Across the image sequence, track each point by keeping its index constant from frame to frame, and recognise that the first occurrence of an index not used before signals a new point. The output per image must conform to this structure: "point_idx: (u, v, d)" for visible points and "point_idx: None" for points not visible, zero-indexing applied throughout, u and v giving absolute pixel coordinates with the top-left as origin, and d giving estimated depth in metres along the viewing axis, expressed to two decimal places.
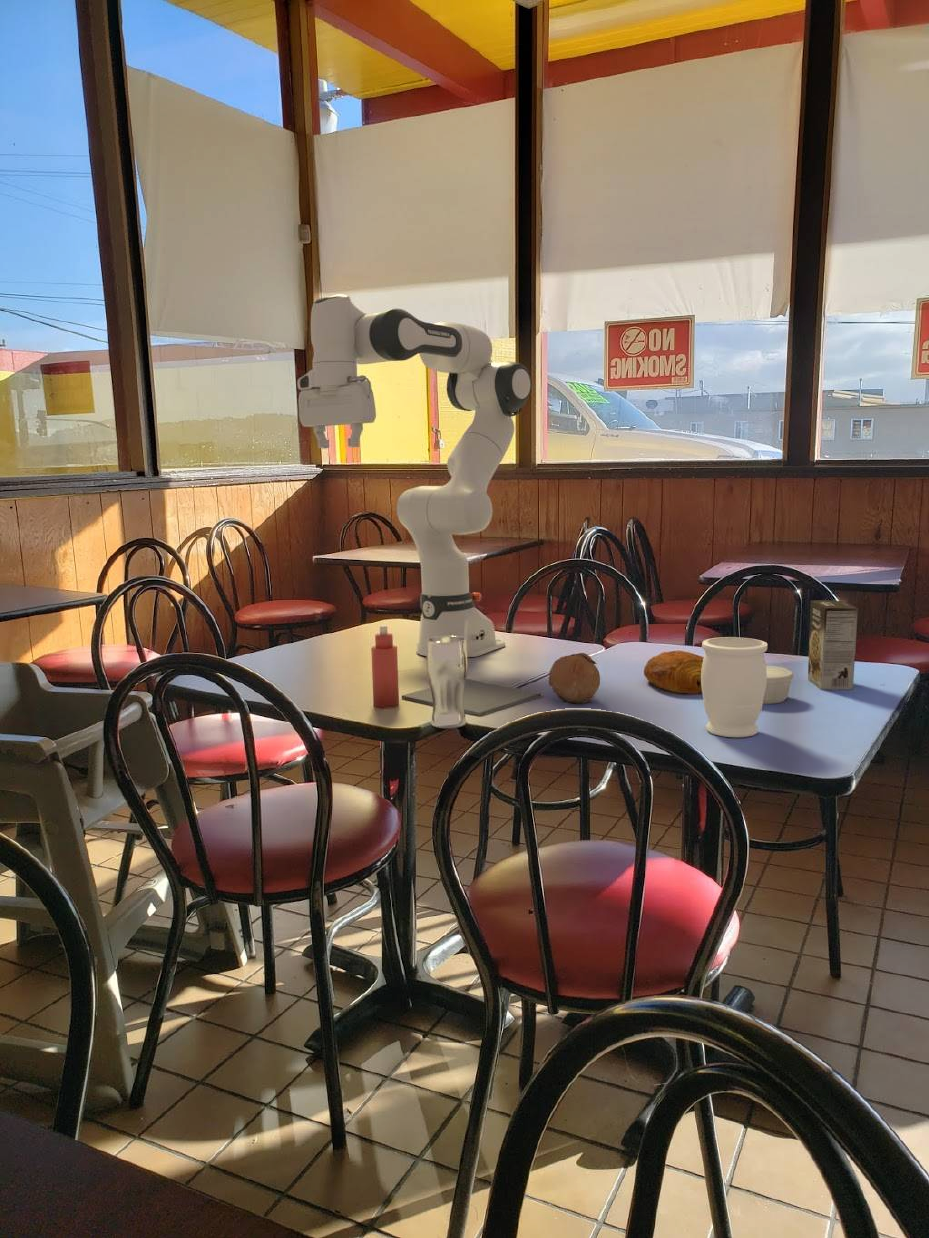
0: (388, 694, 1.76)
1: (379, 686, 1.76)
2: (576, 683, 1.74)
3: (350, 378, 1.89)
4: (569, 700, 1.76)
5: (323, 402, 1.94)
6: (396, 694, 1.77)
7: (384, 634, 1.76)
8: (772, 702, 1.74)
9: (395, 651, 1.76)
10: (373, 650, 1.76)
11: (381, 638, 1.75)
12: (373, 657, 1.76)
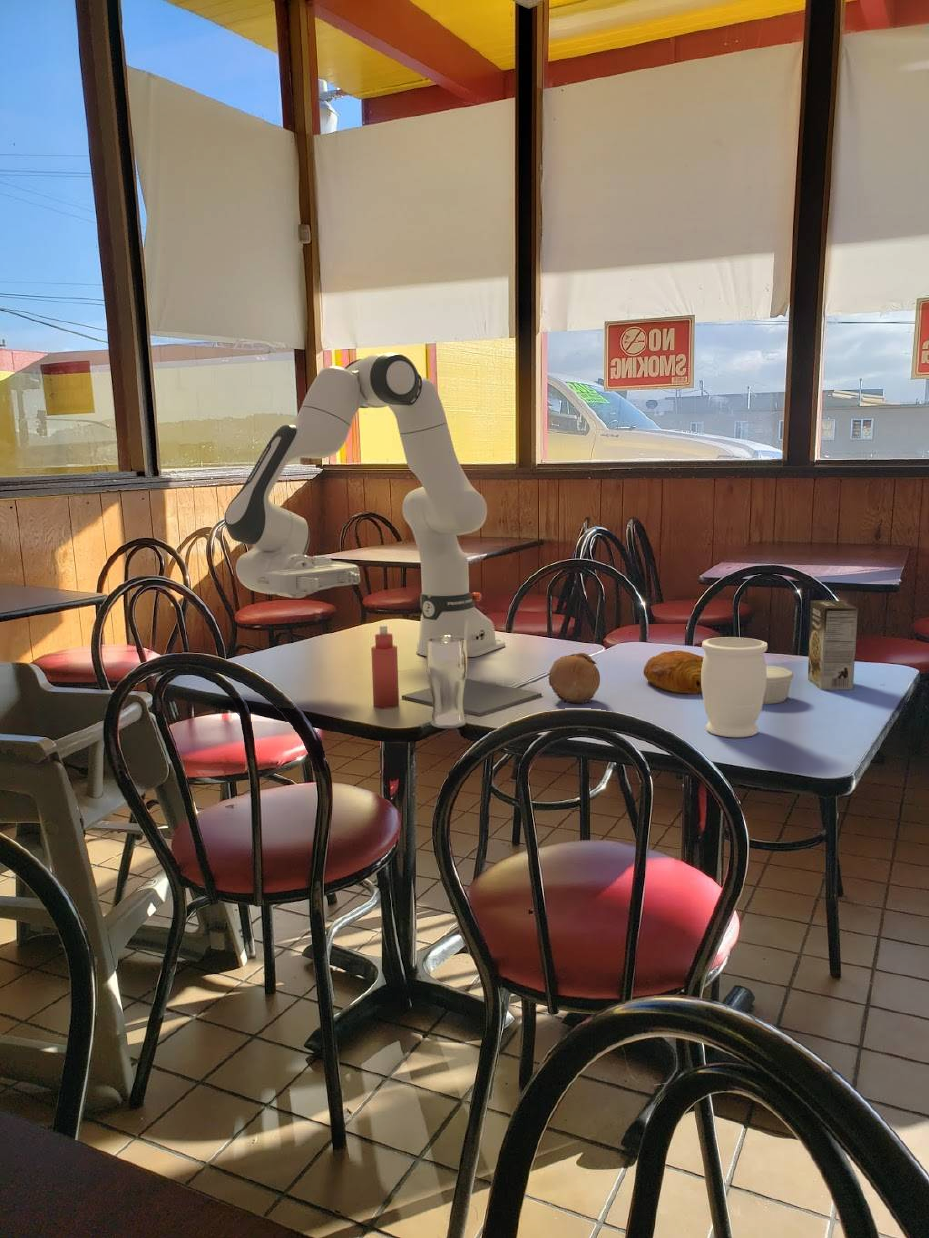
0: (388, 694, 1.76)
1: (379, 686, 1.76)
2: (576, 683, 1.74)
3: None
4: (569, 700, 1.76)
5: None
6: (396, 694, 1.77)
7: (384, 634, 1.76)
8: (772, 702, 1.74)
9: (395, 651, 1.76)
10: (373, 650, 1.76)
11: (381, 638, 1.75)
12: (373, 657, 1.76)
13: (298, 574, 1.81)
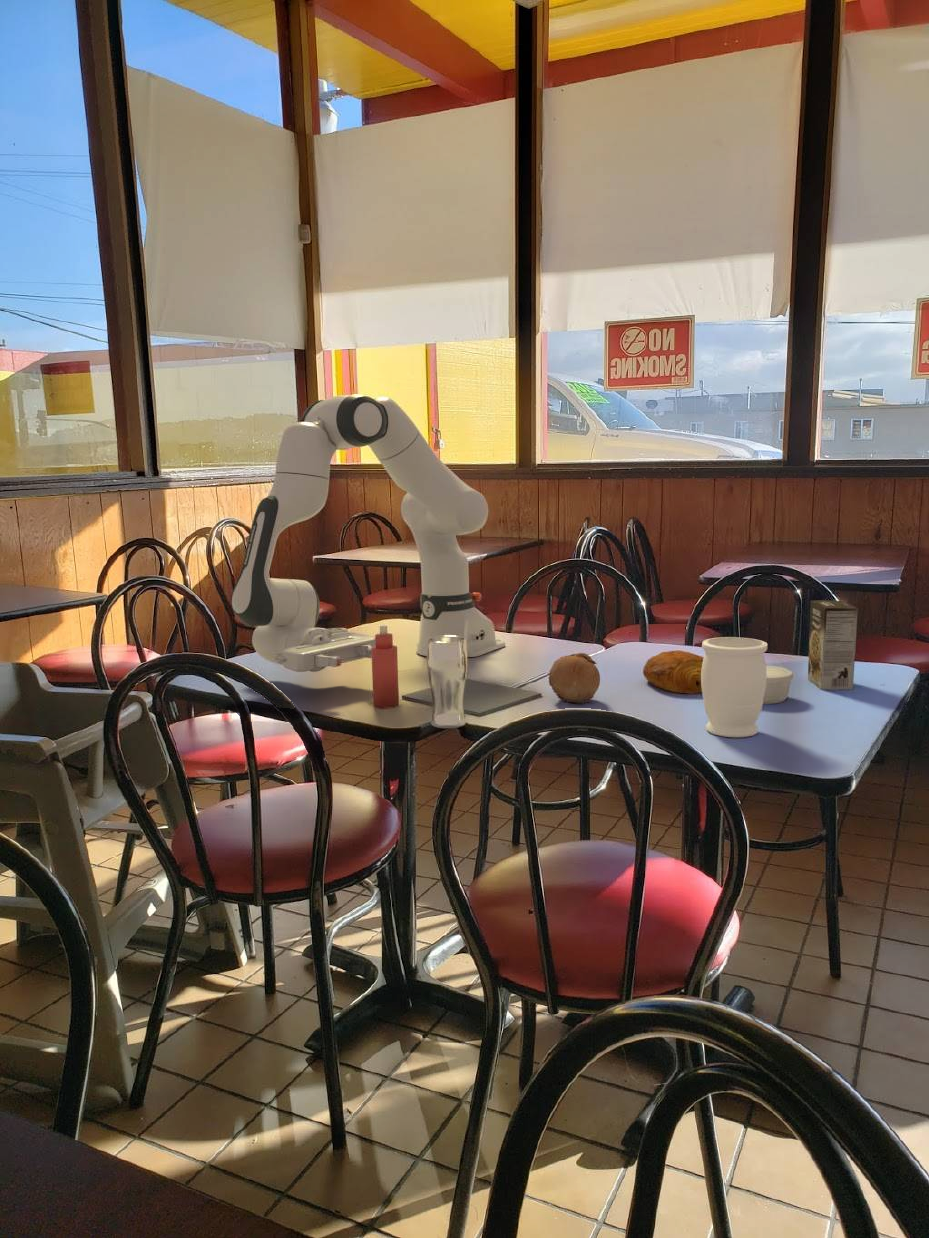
0: (388, 694, 1.76)
1: (379, 686, 1.76)
2: (576, 683, 1.74)
3: None
4: (569, 700, 1.76)
5: None
6: (396, 694, 1.77)
7: (384, 634, 1.76)
8: (772, 702, 1.74)
9: (395, 651, 1.76)
10: (373, 650, 1.76)
11: (381, 638, 1.75)
12: (373, 657, 1.76)
13: (316, 652, 1.81)
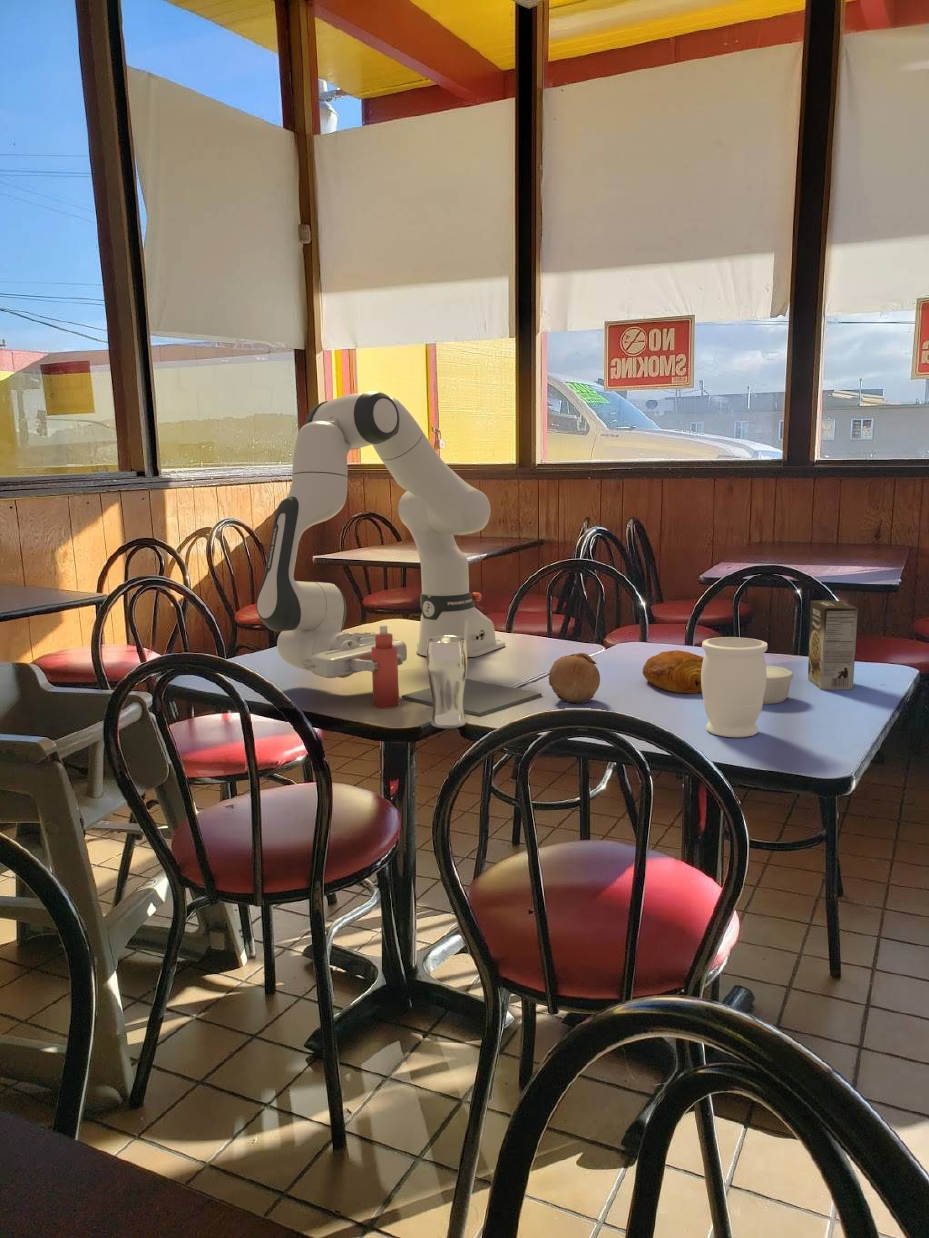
0: (388, 694, 1.76)
1: (379, 686, 1.76)
2: (576, 683, 1.74)
3: None
4: (569, 700, 1.76)
5: None
6: (396, 694, 1.77)
7: (384, 634, 1.76)
8: (772, 702, 1.74)
9: (395, 651, 1.76)
10: (373, 650, 1.76)
11: (381, 638, 1.75)
12: (373, 657, 1.76)
13: (346, 658, 1.75)
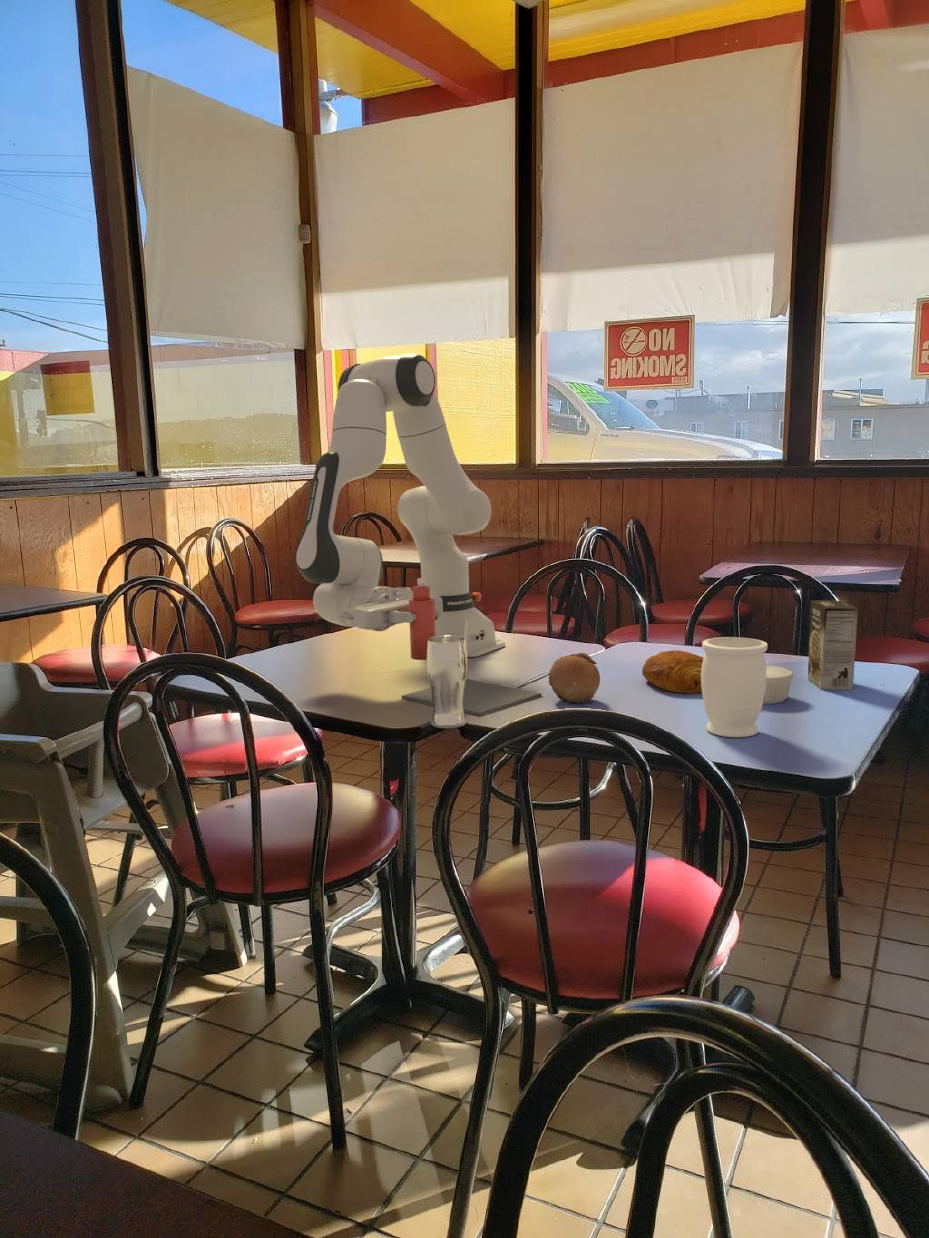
0: (425, 646, 1.77)
1: (417, 638, 1.77)
2: (576, 683, 1.74)
3: None
4: (569, 700, 1.76)
5: None
6: None
7: (422, 586, 1.77)
8: (772, 702, 1.74)
9: (433, 603, 1.77)
10: (411, 602, 1.77)
11: (419, 590, 1.76)
12: (411, 609, 1.77)
13: (384, 609, 1.77)
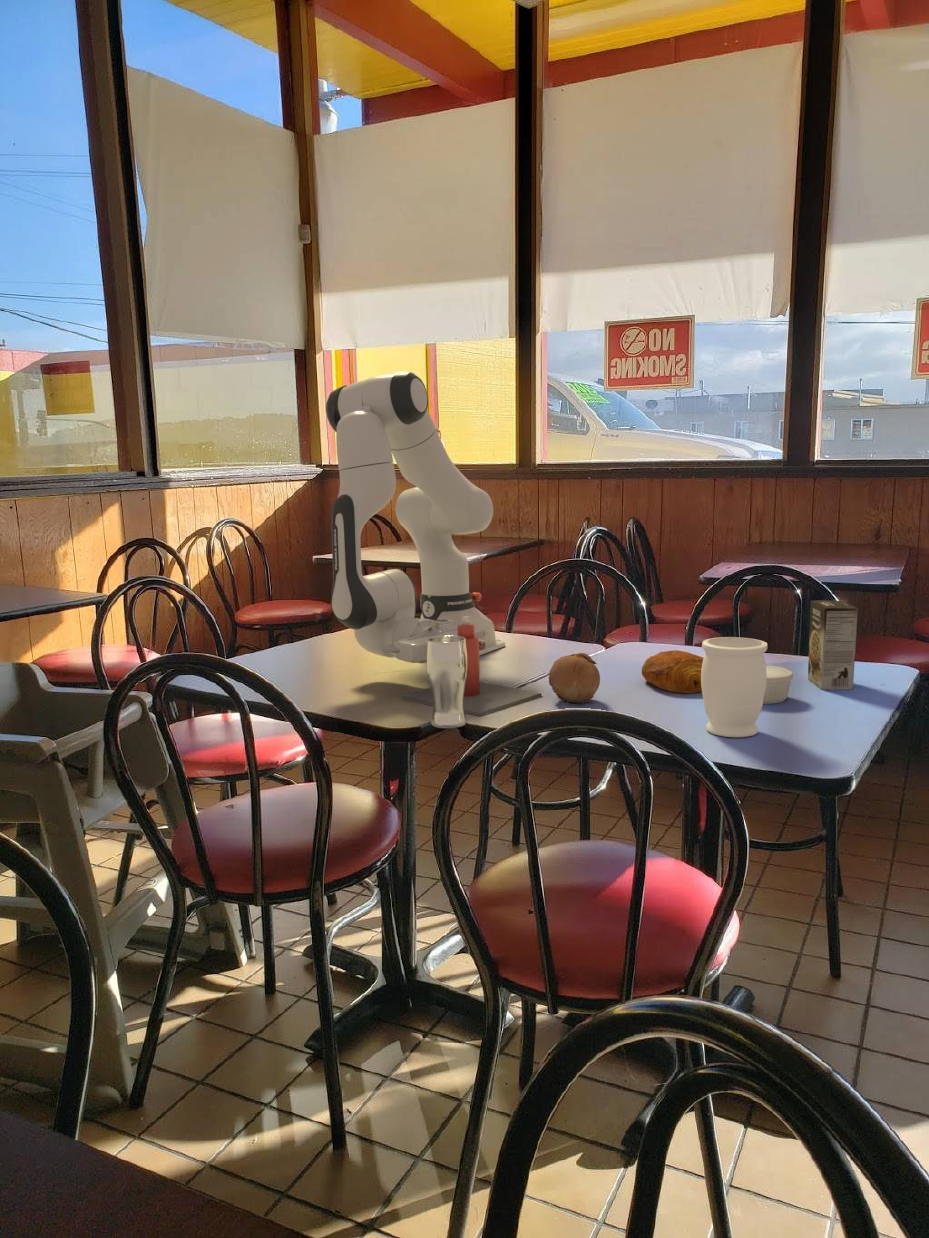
0: (470, 683, 1.81)
1: None
2: (576, 683, 1.74)
3: None
4: (569, 700, 1.76)
5: None
6: (477, 683, 1.82)
7: (466, 624, 1.81)
8: (772, 702, 1.74)
9: (477, 641, 1.81)
10: None
11: (464, 628, 1.80)
12: None
13: None
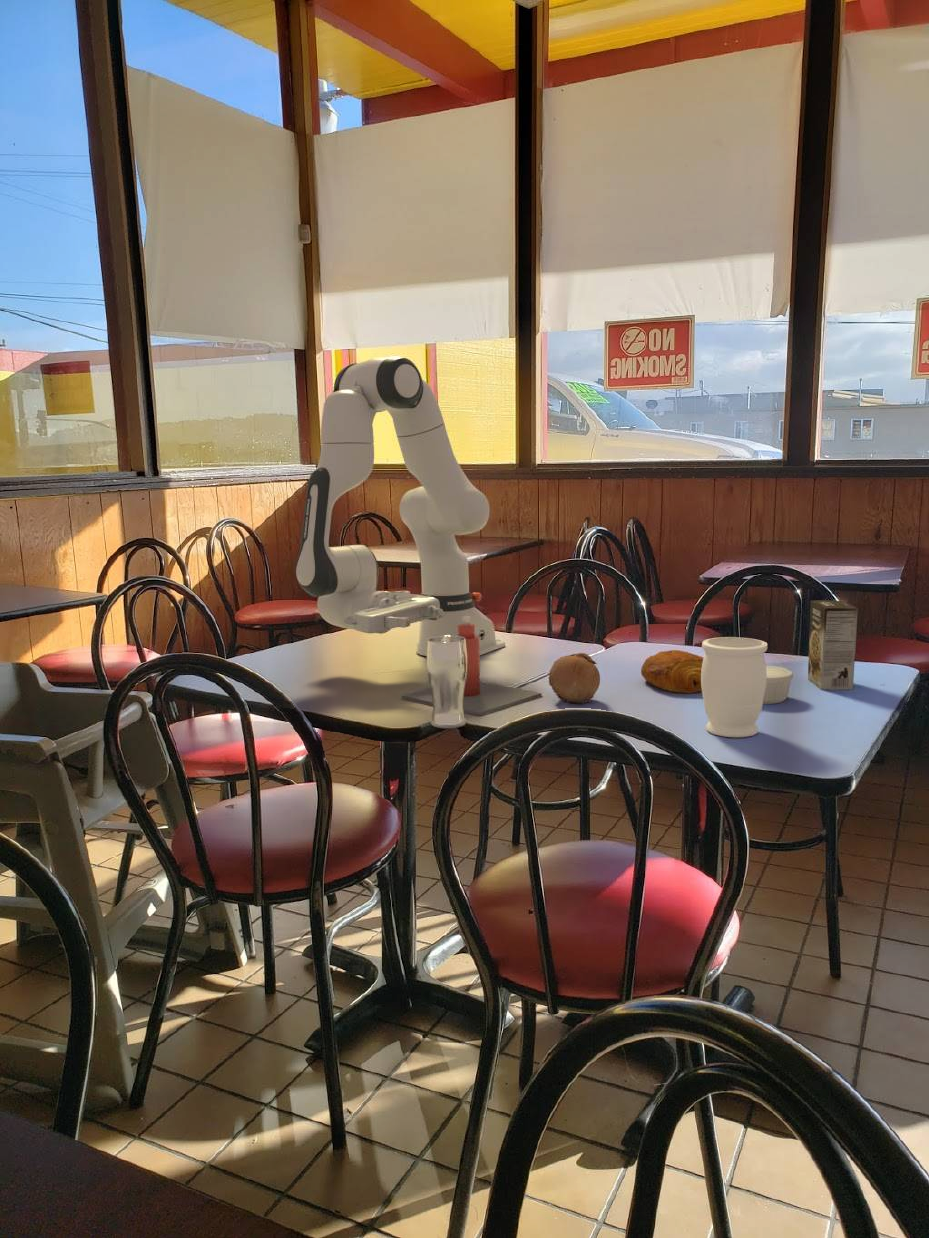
0: (470, 683, 1.81)
1: None
2: (576, 683, 1.74)
3: None
4: (569, 700, 1.76)
5: None
6: (477, 683, 1.82)
7: (467, 624, 1.81)
8: (772, 702, 1.74)
9: (478, 641, 1.81)
10: None
11: (464, 628, 1.80)
12: None
13: (385, 614, 1.88)
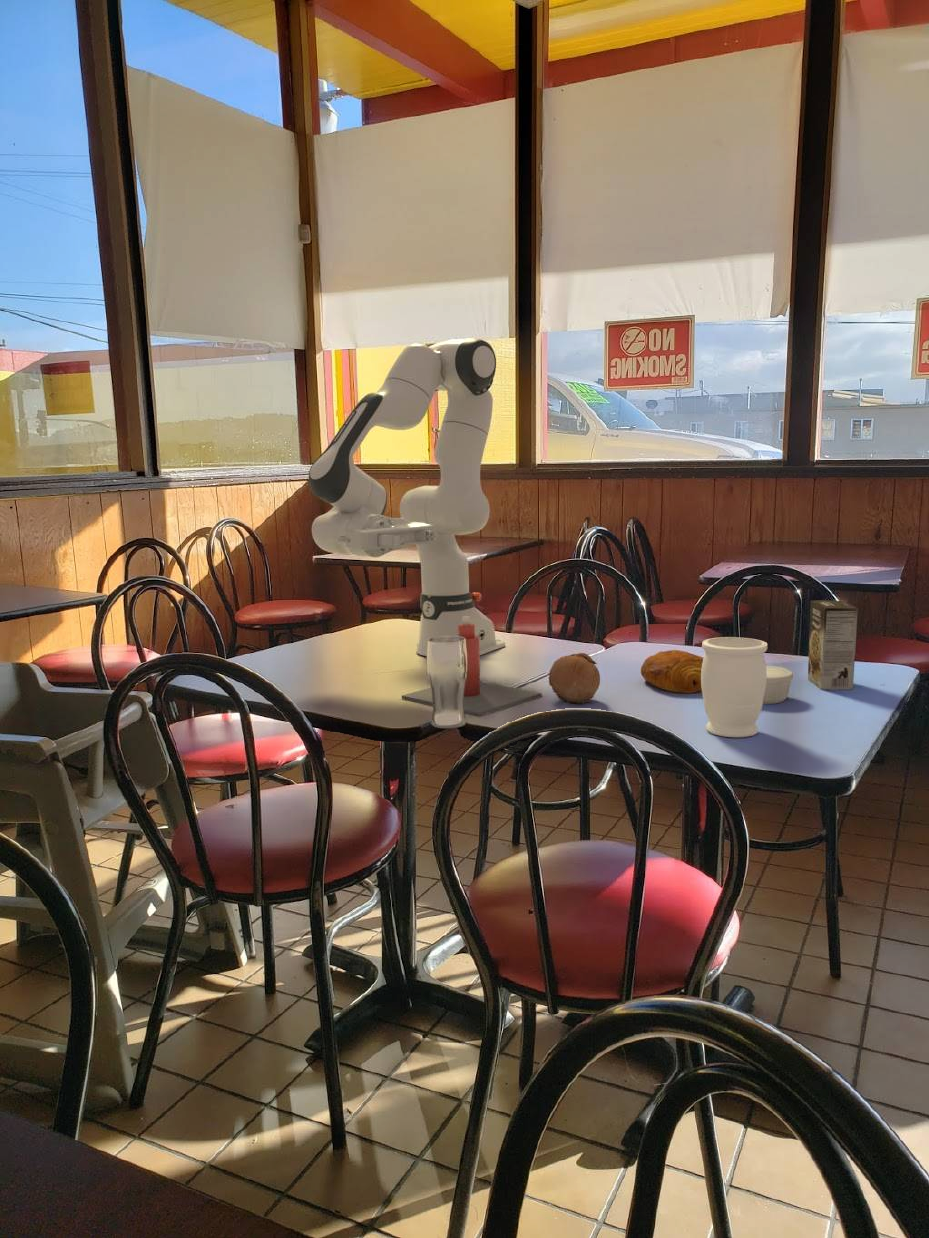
0: (470, 683, 1.81)
1: None
2: (576, 683, 1.74)
3: None
4: (569, 700, 1.76)
5: None
6: (478, 683, 1.82)
7: (467, 624, 1.81)
8: (772, 702, 1.74)
9: (478, 641, 1.81)
10: None
11: (464, 628, 1.80)
12: None
13: (379, 532, 1.85)
